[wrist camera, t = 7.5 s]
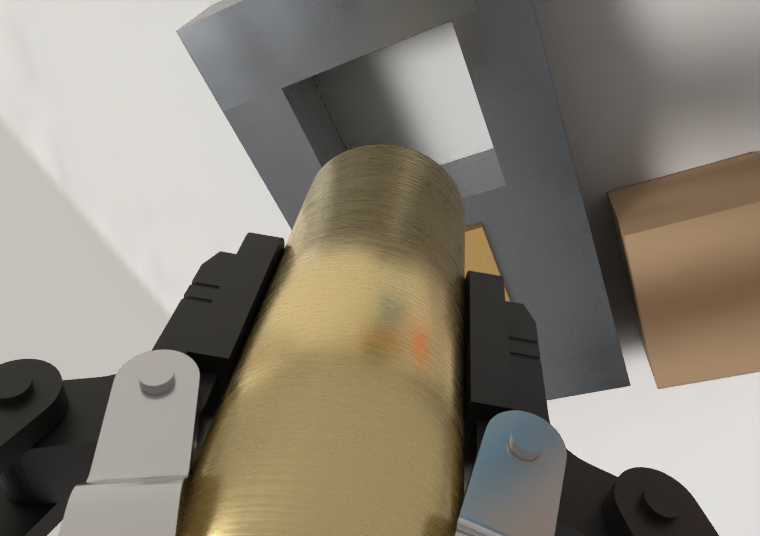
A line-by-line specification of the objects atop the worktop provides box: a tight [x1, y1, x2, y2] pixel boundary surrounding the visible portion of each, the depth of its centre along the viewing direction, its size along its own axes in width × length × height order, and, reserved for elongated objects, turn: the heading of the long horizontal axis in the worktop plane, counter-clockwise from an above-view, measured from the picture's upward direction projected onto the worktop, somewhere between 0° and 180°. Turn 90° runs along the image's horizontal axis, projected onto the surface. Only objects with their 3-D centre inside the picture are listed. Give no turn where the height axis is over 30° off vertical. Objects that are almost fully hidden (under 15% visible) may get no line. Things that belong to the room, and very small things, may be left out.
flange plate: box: [176, 0, 630, 400], centre depth 22 cm, size 19×10×3 cm, turn 23°
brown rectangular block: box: [608, 152, 760, 389], centre depth 23 cm, size 8×5×3 cm, turn 23°
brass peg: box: [180, 144, 465, 536], centre depth 11 cm, size 4×4×10 cm
